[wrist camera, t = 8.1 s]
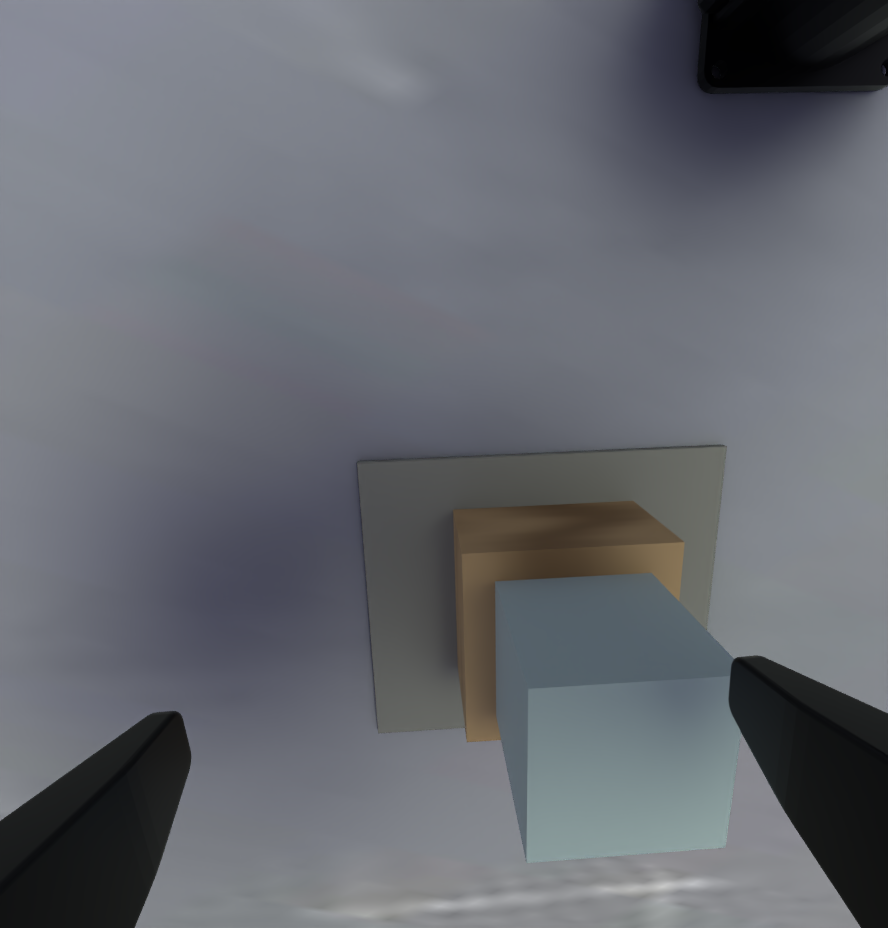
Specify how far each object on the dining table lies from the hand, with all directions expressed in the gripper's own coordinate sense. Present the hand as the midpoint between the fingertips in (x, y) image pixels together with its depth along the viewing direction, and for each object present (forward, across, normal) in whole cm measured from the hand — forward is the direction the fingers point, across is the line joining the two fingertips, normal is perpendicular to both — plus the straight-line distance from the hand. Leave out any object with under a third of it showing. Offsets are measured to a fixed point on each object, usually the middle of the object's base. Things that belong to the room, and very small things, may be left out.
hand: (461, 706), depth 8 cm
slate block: (+8, -4, +4) cm, 10 cm away
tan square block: (+12, -4, +4) cm, 13 cm away
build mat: (+12, -4, +5) cm, 13 cm away
